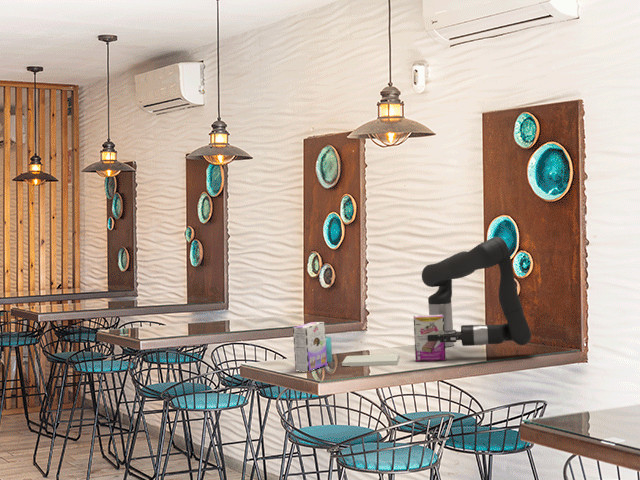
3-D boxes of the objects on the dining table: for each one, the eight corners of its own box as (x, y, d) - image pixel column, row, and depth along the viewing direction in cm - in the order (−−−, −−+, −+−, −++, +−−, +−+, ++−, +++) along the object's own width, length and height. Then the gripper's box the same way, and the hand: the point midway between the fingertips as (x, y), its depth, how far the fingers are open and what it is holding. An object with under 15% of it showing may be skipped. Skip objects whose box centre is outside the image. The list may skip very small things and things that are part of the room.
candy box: (314, 365, 308) (311, 321, 308) (328, 365, 305) (325, 321, 305) (295, 372, 296) (292, 326, 296) (308, 373, 293) (305, 327, 293)
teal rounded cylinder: (315, 360, 319) (314, 336, 319) (333, 359, 318) (331, 336, 318) (313, 363, 312) (311, 339, 312) (331, 362, 311) (329, 339, 311)
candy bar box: (415, 362, 301) (413, 317, 301) (415, 359, 306) (412, 315, 306) (446, 360, 300) (443, 315, 300) (445, 358, 305) (443, 314, 304)
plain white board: (347, 359, 315) (346, 356, 315) (399, 357, 312) (399, 354, 312) (342, 366, 301) (342, 362, 301) (397, 364, 298) (396, 360, 298)
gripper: (475, 348, 293) (427, 350, 296) (474, 342, 308) (428, 344, 310) (474, 327, 293) (426, 329, 296) (473, 322, 307) (427, 324, 310)
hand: (427, 337), depth 303 cm, fingers closed on candy bar box, 5 cm apart
